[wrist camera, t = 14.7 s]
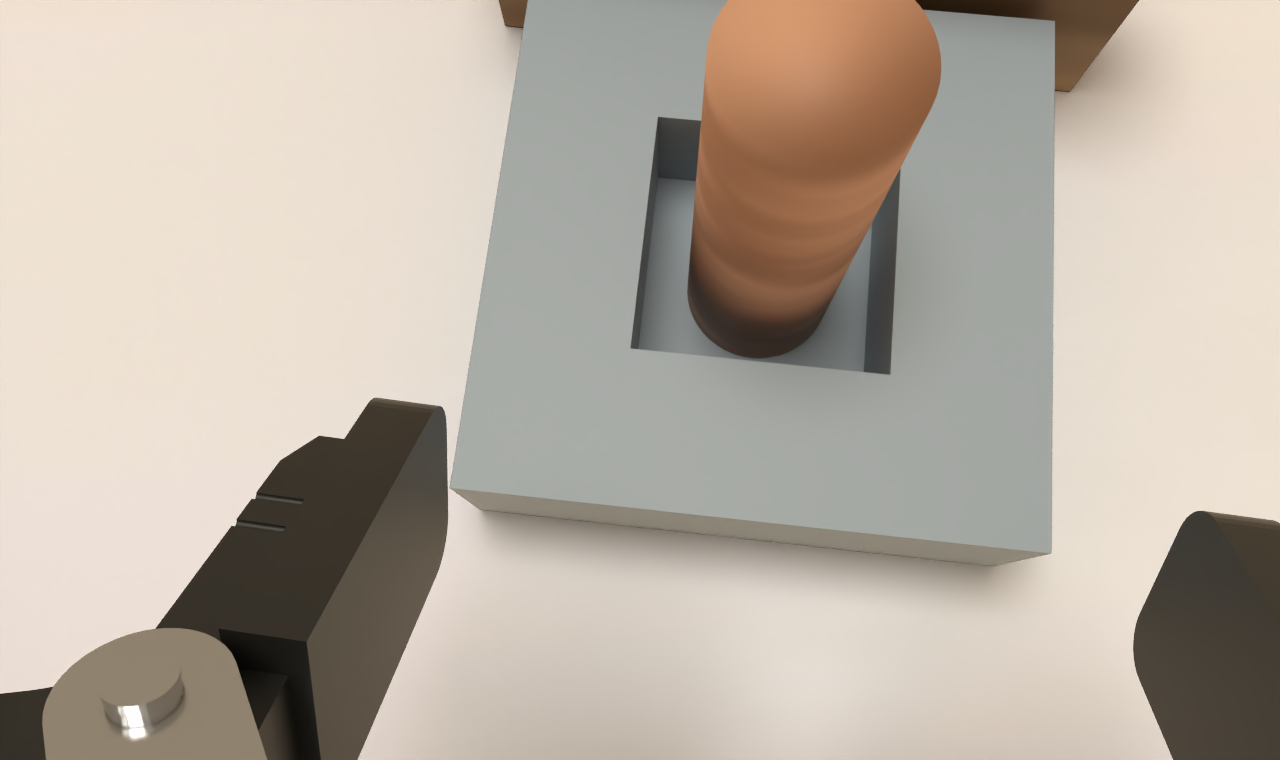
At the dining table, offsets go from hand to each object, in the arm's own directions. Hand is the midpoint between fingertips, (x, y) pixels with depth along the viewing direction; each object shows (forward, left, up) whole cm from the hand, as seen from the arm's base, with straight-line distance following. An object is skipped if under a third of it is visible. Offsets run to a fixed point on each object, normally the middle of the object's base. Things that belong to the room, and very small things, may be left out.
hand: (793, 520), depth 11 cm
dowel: (-5, +4, -12) cm, 14 cm away
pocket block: (-5, +4, -13) cm, 15 cm away
